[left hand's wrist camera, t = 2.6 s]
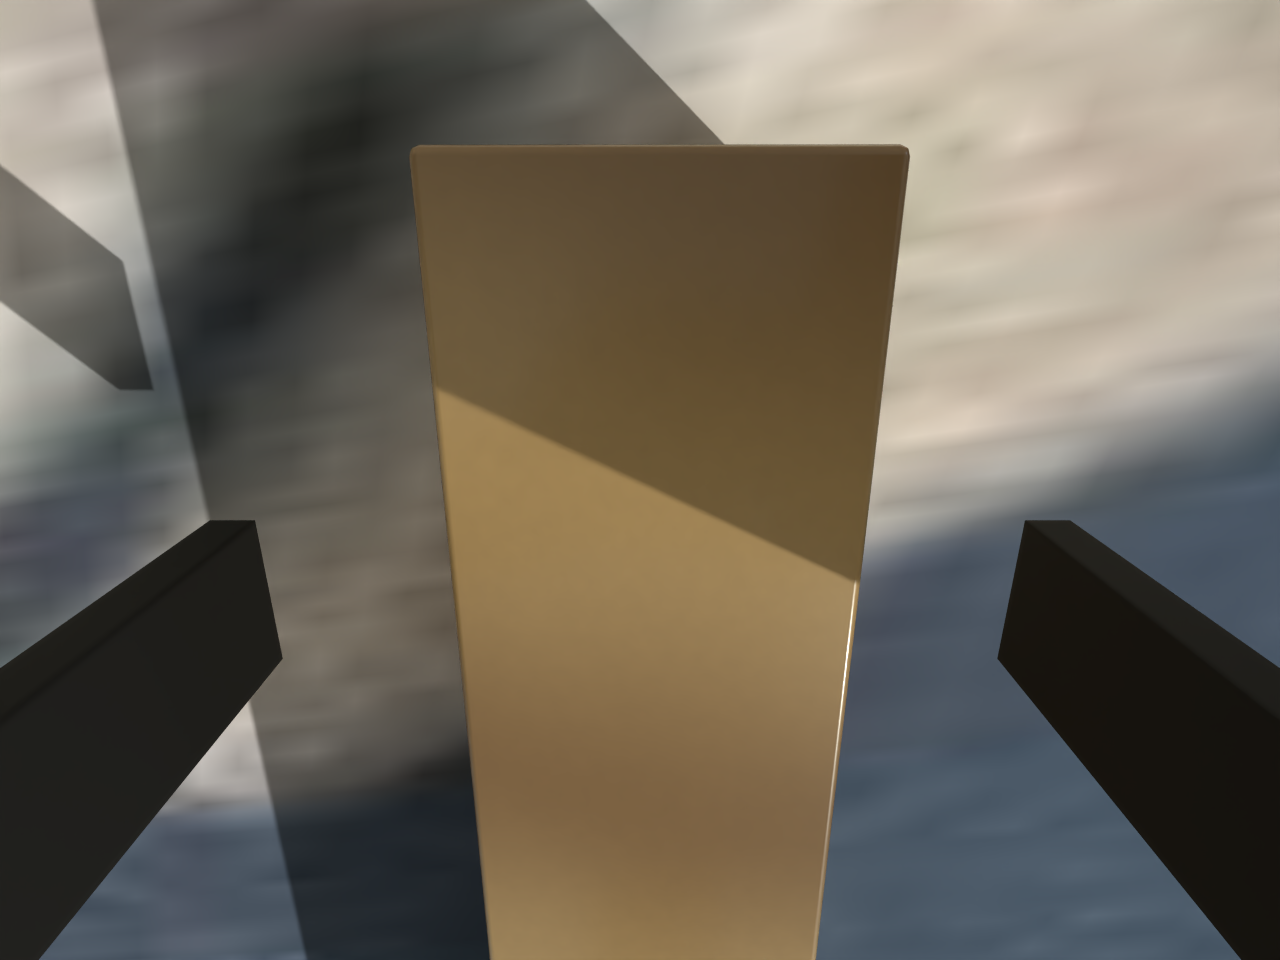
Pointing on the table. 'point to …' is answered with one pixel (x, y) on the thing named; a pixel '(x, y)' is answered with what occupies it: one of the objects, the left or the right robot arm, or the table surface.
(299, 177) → the table surface
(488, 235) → the beam
